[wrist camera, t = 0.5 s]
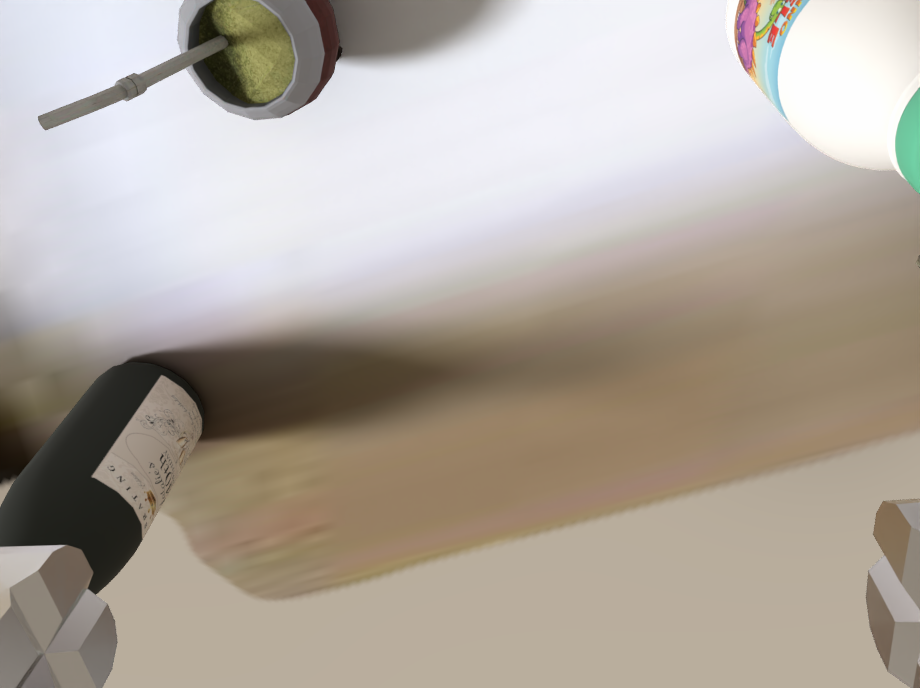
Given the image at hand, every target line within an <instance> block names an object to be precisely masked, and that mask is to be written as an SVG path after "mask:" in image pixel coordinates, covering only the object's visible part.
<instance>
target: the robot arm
mask: <svg viewBox="0 0 920 688" xmlns="http://www.w3.org/2000/svg"><path fill="white" fill-rule="evenodd" d="M873 535H874V537H875V539H876V541H877V542H878V544H879V546H880V547H881V549H882V551H883V553H884V556H883V557H882V558H881V559H880V560H879V561H878V562H877V563H876V564H875V565H873V566H872V568H870V569H869V571H868V579H867V592H866V602H867V609H868V617H869V624H870V629H871V632H872V635H873V638H874V640H875V644H876V647H877V650H878V652H879V654H880V656H881V658H882V660H883V662H884V664H885V667H886V669H887V671H888V672H889V673H890V674H892V675H893V676H895V677H896V678H898V679H899V680H900V681H902V682H903V683H904V684H906V685H907V686H909V687H910V688H920V499H910V500H909V499H908V500H892V501H883V502H882V504H881V506H880V507H879V509H878V511H877V513H876V519H875V525H874V532H873ZM92 576H93V571H92V569H91V567H90V565H89V563H88V561H87V559H86V557H85V555H84V553H83V552H82V550H81V549H78V548H75V547H72V546H68V545H48V546H14V547H0V688H102V687H103V685H104V683H105V682H106V680H107V678H108V676H109V674H110V672H111V670H112V667H113V662H114V657H115V652H116V647H117V634H116V626H115V620H114V618H113V615H112V613H111V611H110V609H109V606H108V604H107V603H106V602H105V601H103V600H102V599H101V598H99V597H98V596H97V595H95V594H94V593H92V592H91V591H90V590H88V589H87V588H88V586H89V583H90V581H91V578H92Z"/></svg>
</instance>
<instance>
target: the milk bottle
mask: <svg viewBox="0 0 920 688" xmlns="http://www.w3.org/2000/svg"><path fill="white" fill-rule="evenodd" d="M726 32H727V37H728V41H729V44H730V47H731V49H732V51H733V53H734V55H735V57H736V59H737V60H738V62H739V63H740V65H741V66H742V67H743V69H744V70H745V71H746V73H747V74H748V75H749V77H750V78H751V79H752V80H753V82H754V83H755V84H756V85H757V87H758V88H759V89H760V90H761V91H762V93H763V94H764V95H765V96H766V98H767V99H768V100H769V101H770V102H771V104H772V105H773V106H774V107H775V108H776V110H777V111H778V112H779V113H780V114H781V115H782V117H783V118H784V119H785V120H786V121H787V122H788V123H789V125H790V126H791V127H792V128H793V129H794V130H795V131H796V132H797V133H798V134H799V135H800V136H801V137H802V138H803V139H804V140H806V141H807V142H808V143H809V144H810V145H811V146H813V147H814V148H816V149H817V150H819V151H820V152H822V153H824V154H825V155H827V156H829V157H831V158H833V159H835V160H837V161H840V162H842V163H845V164H848V165H851V166H855V167H859V168H865V169H871V170H882V171H887V170H897V172H898V173H899V174H900V175H901V176H902V177H903V178H904V179H905V180H907V181H908V182H909V184H910V185H911V186H912V187H913V188H914V189H915V191H917V192H918V193H919V194H920V0H728V2H727V8H726Z"/></svg>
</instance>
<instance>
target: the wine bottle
mask: <svg viewBox="0 0 920 688" xmlns="http://www.w3.org/2000/svg"><path fill="white" fill-rule="evenodd" d="M203 429H204V410H203V407H202V404H201V402H200V399H199V397H198V395H197V394H196V392H195V391H194V390H193V389H192V388H191V387H190V385H189V384H188V383H187V382H186V381H185V380H183V379H182V378H181V377H179V376H178V375H176V374H175V373H173V372H172V371H170V370H168V369H165V368H162V367H159V366H157V365H154V364H150V363H138V362H130V363H126V364H122V365H118V366H113V367H112V368H110V369H109V370H107V371H106V372H105V373H103V374H102V375H101V376H99V377H98V378H97V379H96V380H95V382H94V383H93V384H92V385H91V386H90V388H89V389H88V390H87V391H86V393H85V394H84V395H83V396H82V398H81V399H80V400H79V401H78V403H77V404H76V405H75V406H74V408H73V409H72V410H71V411H70V413H69V414H68V415H67V416H66V418H65V419H64V420H63V421H62V423H61V424H60V425H59V426H58V428H57V429H56V430H55V431H54V433H53V434H52V435H51V436H50V438H49V439H48V440H47V441H46V443H45V444H44V445H43V446H42V447H41V449H40V450H39V451H38V452H37V454H36V455H35V456H34V457H33V459H32V460H31V461H30V462H29V464H28V465H27V466H26V467H25V469H24V470H23V471H22V472H21V474H20V475H19V476H18V477H17V479H16V480H15V481H14V483H13V484H12V486H11V488H10V490H9V491H8V493H7V495H6V497H5V499H4V501H3V503H2V505H1V507H0V547H14V546H48V545H68V546H72V547H75V548H78V549H81V550H82V552H83V553H84V555H85V557H86V559H87V561H88V563H89V565H90V567H91V569H92V571H93V576H92V578H91V581H90V583H89V586H88V588H87V589H88V590H90V591H91V592H92V593H94V594H95V595H96V594H97V593H98V592H99V591H100V590H102V589H103V588H104V587H105V586H106V585H107V584H108V583H109V582H110V581H111V580H112V579H113V578H114V577H115V576H116V575H117V574H118V573H119V572H120V570H121V569H122V568H123V567H124V566H125V565H126V563H127V562H128V561H129V559H130V558H131V557H132V556H133V554H134V553H135V552H136V550H137V548H138V546H139V545H140V543H141V541H142V540H143V538H144V536H145V534H146V532H147V531H148V529H149V527H150V525H151V524H152V522H153V520H154V518H155V516H156V515H157V513H158V511H159V509H160V508H161V506H162V504H163V502H164V500H165V499H166V497H167V495H168V493H169V491H170V490H171V488H172V486H173V484H174V482H175V481H176V479H177V477H178V475H179V473H180V472H181V470H182V468H183V466H184V465H185V463H186V461H187V459H188V457H189V456H190V454H191V452H192V450H193V448H194V447H195V445H196V443H197V441H198V439H199V437H200V436H201V434H202V432H203Z"/></svg>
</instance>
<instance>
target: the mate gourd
mask: <svg viewBox="0 0 920 688" xmlns="http://www.w3.org/2000/svg"><path fill="white" fill-rule="evenodd" d="M177 41H178V44H179V47H180V51H181V54H180V55H178V56H176V57H174V58H172V59H170V60H168V61H166V62H164V63H162V64H160V65H158V66H156V67H154V68H151V69H149V70H147V71H145V72H143V73H141V74H139V75H138V74H135V73H133V74H131V75H129V76H127V77H126V78H122V79H120V80H118V81H117V82H116V83H115V86H113V87H111V88H109V89H106V90H104V91H102V92H99V93H97V94H94V95H92V96H89V97H87V98H84V99H82V100H79V101H76V102H74V103H71V104H69V105H66V106H64V107H61V108H58V109H56V110H53V111H51V112H48V113H46V114H43V115H41V116H38V120H39V122H40V124H41V126H42V127H43V129H45V130H48V129H50V128H53V127H56V126H58V125H61V124H63V123H66V122H69V121H71V120H74V119H76V118H79V117H81V116H84V115H86V114H89V113H92V112H94V111H97V110H99V109H102V108H104V107H106V106H109V105H111V104H114V103H116V102H118V101H120V100H125V101H129V100H131V99H133V98H135V97H137V96H139V95H141V94H143V93H144V92H145V91H146V90H147V87H149V86H151V85H153V84H155V83H157V82H159V81H161V80H163V79H165V78H167V77H169V76H171V75H173V74H175V73H177V72H179V71H181V70H183V69H184V68H186V70H187V71H188V73H189V74H190V75H191V77H192V78H193V80H194V81H195V82H196V84H197V85H198V87H199V88H200V90H201V91H202V92H203V94H204V95H206V96H207V97H208V98H210V99H211V100H212V101H214V102H215V103H216V104H218V105H219V106H221V107H222V108H223V109H225V110H226V111H227V112H230V113H233V114H237V115H240V116H243V117H247V118H250V119H253V120H261V119H272V118H282V117H284V116H286V115H289V114H291V113H293V112H295V111H296V110H298V109H300V108H302V107H303V106H305V105H307V104H309V103H310V102H312V101H313V100H315V99H316V98H317V97H318V95H319V94H320V92H321V91H322V89H323V88H324V86H325V85H326V84H327V82H328V81H329V80H330V78H331V77H332V75H333V73H334V69H335V64H336V61H337V60H338V59H339V57H340V56H341V53H342V48H341V47H340V46H339V42H340V41H339V36H338V31H337V26H336V20H335V15H334V10H333V8H332V6H331V4H330V2H329V0H184V2H183V4H182V6H181V8H180V10H179V23H178V37H177Z"/></svg>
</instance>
